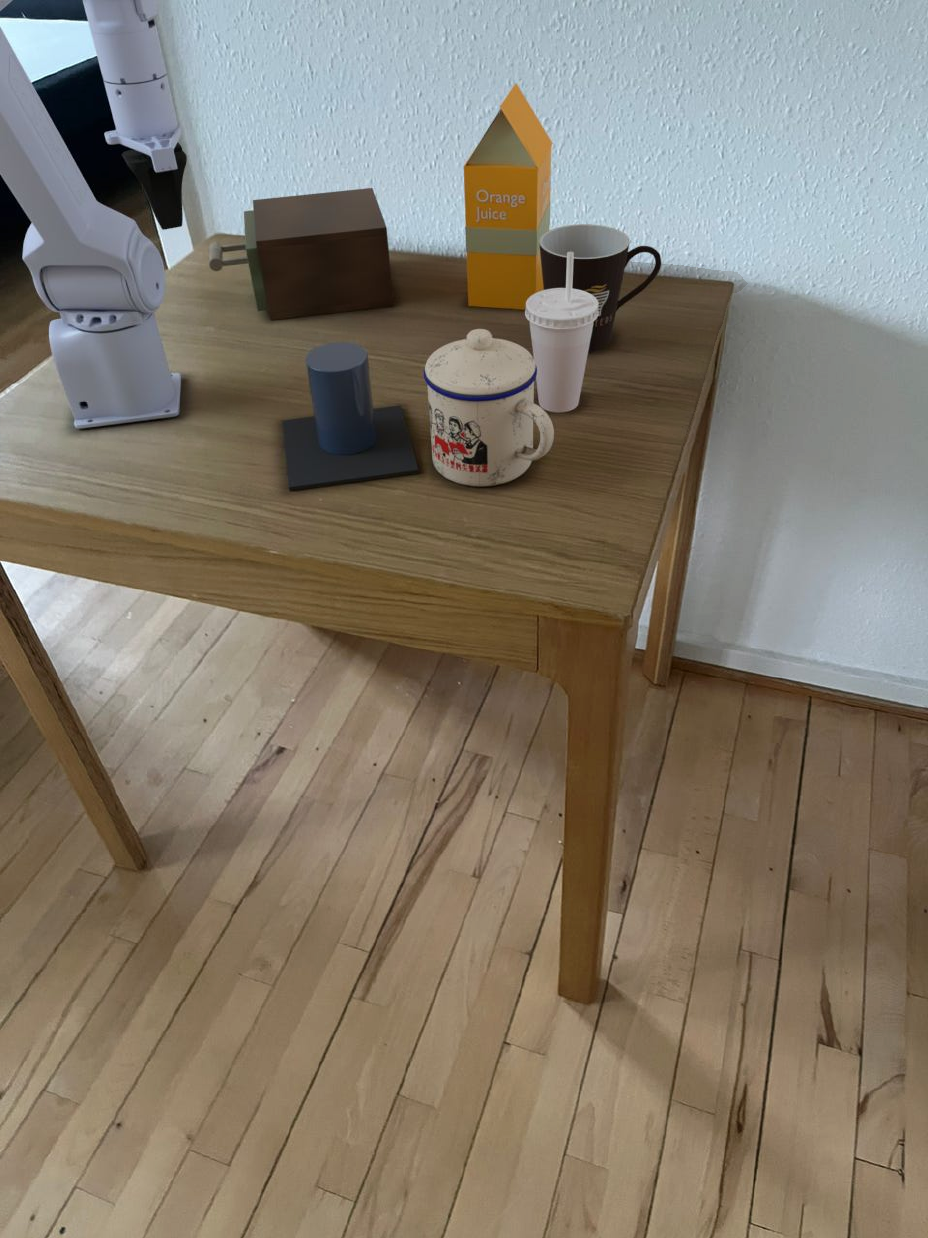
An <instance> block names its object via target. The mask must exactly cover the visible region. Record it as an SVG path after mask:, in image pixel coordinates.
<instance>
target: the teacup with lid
mask: <svg viewBox="0 0 928 1238" xmlns="http://www.w3.org/2000/svg"><path fill="white" fill-rule="evenodd" d="M536 375H537V366H536V364H535V361H534V356H533V354H531V353H530V351H528V349H526V348H525V347H524V346H522V345H520V344H518V343H515V342H513V341H510V340H507V339H502V338H496V337H495V338H494V337H493V334H492V333H491V332H490V330H488V329H485V328H476V329H472V330H470V331H469V332H468V333H467V335H466V338H463V339H458V340H455V341H452V342H449V343H447V344H445V345H443V346H441V347H439V348H438V349H436V350H435V351H433V353H432V354H431V355H430V356H429V357H428V359H427V361H426V362H425V365H424V369H423V379H424V382H425V383H426V385H427V398H428V412H429V413H428V414H429V415H428V416H429V428H430V429H429V430H430V441H431V457H432V464H433V466H434V468H435V469H436V471H437V472H438V473H439V475H441V476H442V477H444V478H445V479H447V480H449V481H451V482H454V483H456V484H459V485H464V486H469V487H493V486H498V485H502V484H506V483H509V482H511V481H513V480H516V479H517V478H519V477H520V476H522V475H523V474H524V473H525V472H526V471H527V470H528V469H529V467H530V466H531V464H532V463H533V461H537V460H540V459H541V458H544V456H545V455H547V454H548V452H549V451H550V450H551V448H552V445H553V443H554V438H555V431H554V430H555V429H554V424H553V421H552V420H551V418H550V416H549V414H548V413H547V411H546V410H545V409H543V408H542V407H541V406H540V405H539V404H536V403H534V400H535V398H534V397H535V381H536ZM534 423H535V425H536V427H537V428H538V430H539V444H538V446H537V448H534Z"/></svg>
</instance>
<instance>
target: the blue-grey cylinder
mask: <svg viewBox="0 0 928 1238" xmlns="http://www.w3.org/2000/svg"><path fill="white" fill-rule="evenodd" d="M304 361H305V368H306V374H307V380H308V386H309V393H310V398H311V405H312V410H313V417H314V418H315V424H316V430H317V436H318V442H319V445H320V447H321V448H322V449H323V450H324V451H326V452H329V453H331V454H336V455H351V454H356V453H360V452H363V451H365V450H367V449H369V448H370V447H371V446H373V445H374V443H375V442H376V439H377V432H376V423H375V414H374V409H375V406H374V398H373V388H372V380H371V372H370V363H369V354H368V351H367V349H366V348H365V347H363V346H362V345H359V344H356V343H354V342H353V343H352V342H346V341H345V342H344V341H343V342H342V341H340V342H338V341H337V342H330V343H325V344H321V345H319V346H317V347H314V348H313V349H311V350H310V351H309V352H307V354H306V355H305V360H304Z"/></svg>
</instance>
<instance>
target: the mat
mask: <svg viewBox="0 0 928 1238" xmlns="http://www.w3.org/2000/svg"><path fill="white" fill-rule="evenodd" d="M374 414H375V423H376V432H377V439H376V442H375V443H374V445H373V446H371V447H370V448H369V449H367V450H365V451H363V452H360V453H356V454H351V455H336V454H331V453H329V452H326V451H324V450H323V449H322V448H321V447H320V445H319V442H318V436H317V430H316V424H315V418H314V416H305V417H299V418H291V419H284V420H282V430H283V431H282V432H283V441H284V442H283V443H284V452H285V462H286V473H287V482H288V483H287V484H288V491H290V492H293V491H299V490H307V489H313V488H314V489H315V488H321V487H330V486H336V485H343V484H350V483H358V482H365V481H373V480H379V479H387V478H394V477H400V476H401V477H402V476H409V475H417V474H419V473H420V469H419V465H418V461H417V458H416V455H415V451H414V448H413V445H412V441H411V437H410V434H409V433H410V432H409V430H408V426H407V422H406V419H405V415H404V412H403V408H402V405H400V404H398V405H392V406H385V407H384V406H383V407H377V408H374Z"/></svg>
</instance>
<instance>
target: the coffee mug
mask: <svg viewBox="0 0 928 1238" xmlns="http://www.w3.org/2000/svg"><path fill="white" fill-rule="evenodd" d="M630 243H631V241H630V238H629V236H628V235H627V234H626V233H624V232H623V231H621V230H619V229H616V228H614V227H610V226H606V225H601V224H592V223H591V224H589V223H587V224H586V223H579V224H569V225H563V226H558V227H555V228H552V229H549V231H548V232H546V233H544V234H543V235H542V236H541V238H540V240H539V245H540V256H541V266H542V277H543V288H544V290H547V289H553V288H566V270H567V252H574V260H573V284H572V289H578V290H582V291H585V292H588V293H590V294H591V295H593V296H594V297H595V298H596V299H597V300H598V303H599V306H598V313H599V315H598V317H597V319H596V320H595V321H594V323H593V329H592V335H591V339H590V345H589V350H588V354H589V353H594V352H597V351H600V350H602V349H604V348H606V347H608V346H609V344H610V342H611V339H612V334H613V330H614V324H615V319H616V314H617V312H618V310H619V309H620V308H621V307H622V306H624V305H625V304H626V303H628V302H629V301H631V300H632V299H633V298H635V297H636V296H637V295H639V294H640V293H641V292H643V291H644V290H645V289H646V288H647V287H648V286H649V285H650V284H651V283H652V282H653V281H654V280H655V278H656V277H657V275H658V274H659V272H660V271H661V267H662V259H661V258H662V257H661V254H660V252H659V251H658V250H657V249H655V248H654V247H653V246H649V245H639V246H636V247H634V248H632V249H630V250H629V248H630ZM641 253H642V254H643V253H648V254H650V255H652V256H653V257H654V261H655V263H654V267H653V270H652V271H651V273H650V274H649V275H648V276H647V278H646V279H645V280H644V281H643V282H642V283H641V284H639V285H638V286H636V287H635V288H634V289H633V290H631V291H629V292H628V293H627V294H626V295H625V296H623V297H621V298H620V295H621V289H622V284H623V278H624V274H625V269H626V268H627V266H628V264H629V262H630V261H631V260H632V259H633V258H634V257H635V256H637V255H638V254H639V255H640V254H641Z"/></svg>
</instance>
